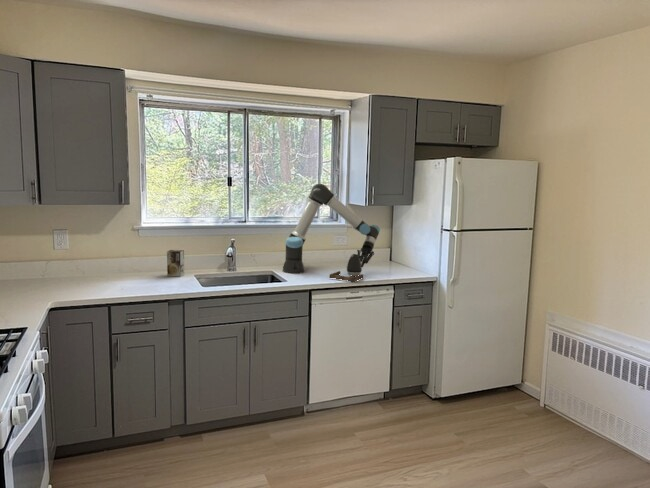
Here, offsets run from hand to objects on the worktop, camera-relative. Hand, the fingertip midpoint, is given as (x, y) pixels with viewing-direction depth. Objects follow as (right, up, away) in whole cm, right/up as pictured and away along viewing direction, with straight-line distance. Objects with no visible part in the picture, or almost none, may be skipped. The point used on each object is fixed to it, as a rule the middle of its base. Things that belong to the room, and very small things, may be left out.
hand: (358, 270), depth 332 cm
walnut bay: (-9, -5, -16) cm, 19 cm away
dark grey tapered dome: (-4, -4, -5) cm, 7 cm away
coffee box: (-119, -2, -24) cm, 121 cm away
